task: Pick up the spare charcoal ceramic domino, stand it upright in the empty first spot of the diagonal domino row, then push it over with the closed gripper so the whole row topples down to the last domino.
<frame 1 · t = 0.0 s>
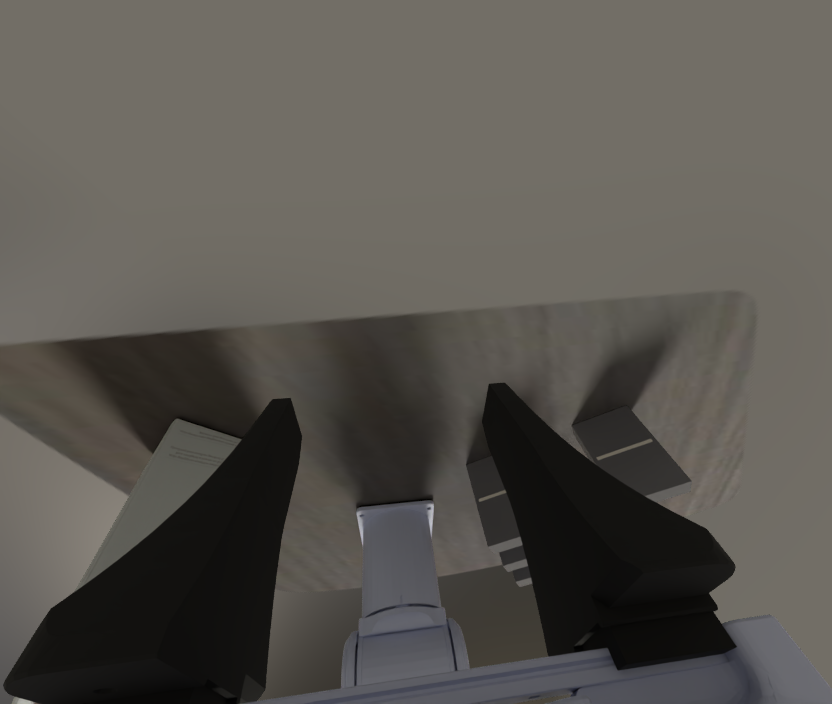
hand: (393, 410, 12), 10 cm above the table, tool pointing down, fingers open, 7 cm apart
domino 1: (599, 420, 31), on the table
domino 3: (504, 482, 35), on the table
skincare box: (221, 450, 28), on the table
domino 4: (492, 460, 32), on the table
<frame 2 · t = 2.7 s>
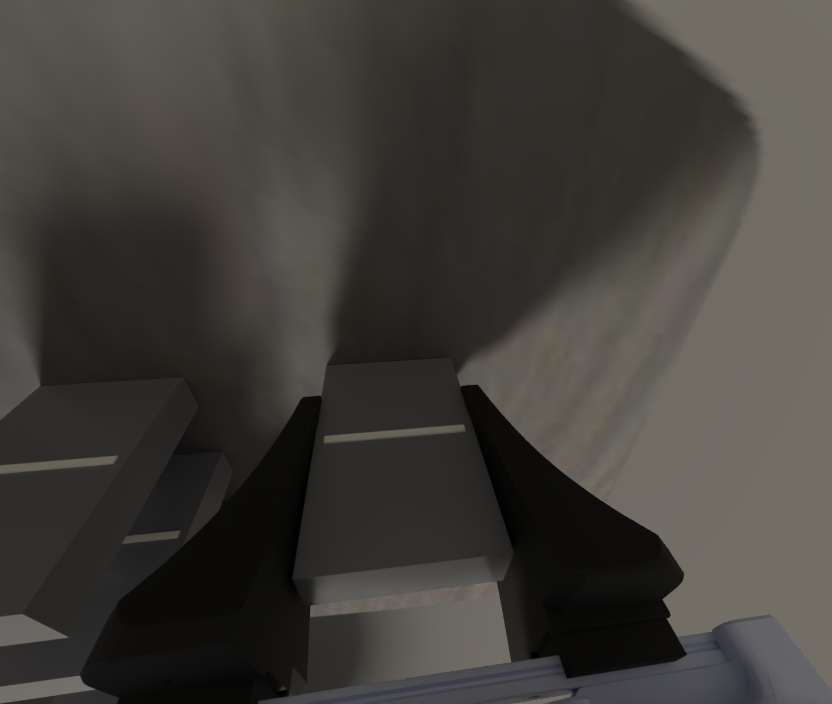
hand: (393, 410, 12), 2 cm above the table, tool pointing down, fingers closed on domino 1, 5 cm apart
domino 1: (390, 376, 14), on the table, touching gripper
domino 3: (172, 466, 16), on the table
domino 2: (207, 515, 18), on the table
domino 4: (124, 396, 13), on the table
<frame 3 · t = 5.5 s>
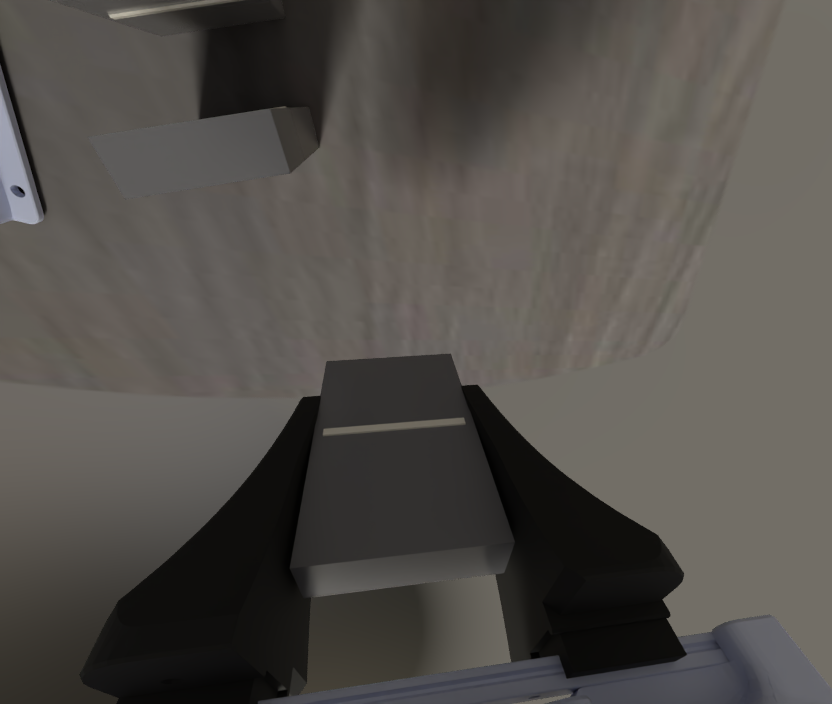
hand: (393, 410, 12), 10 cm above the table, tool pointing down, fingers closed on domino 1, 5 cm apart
domino 1: (390, 373, 14), point 8 cm above the table, touching gripper
domino 2: (261, 135, 16), on the table
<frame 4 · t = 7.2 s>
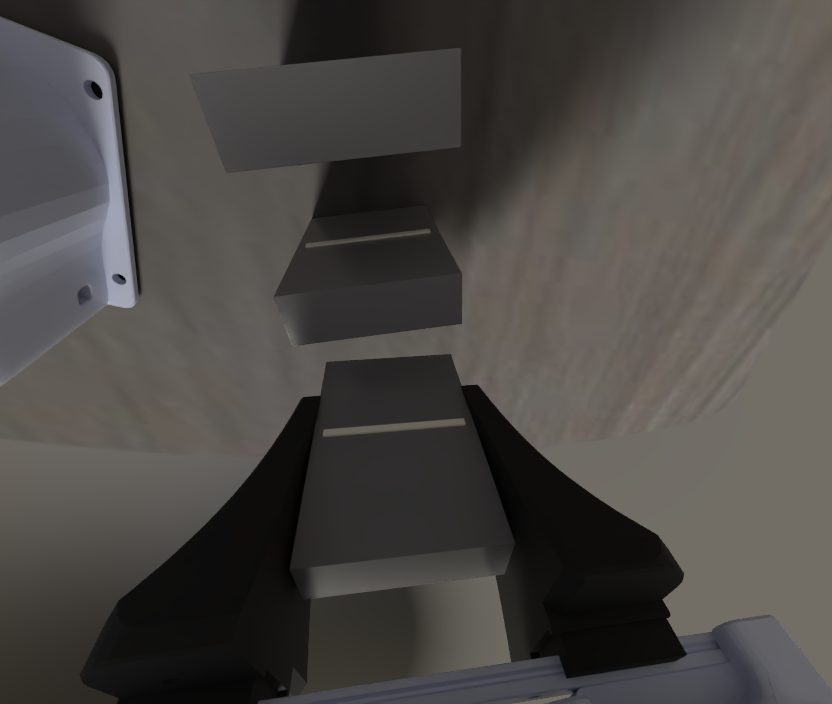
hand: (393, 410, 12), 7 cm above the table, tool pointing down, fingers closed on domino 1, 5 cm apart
domino 1: (390, 373, 14), point 5 cm above the table, touching gripper
domino 3: (351, 109, 13), on the table
domino 2: (371, 229, 15), on the table
when the fingers open (3 cm above the table, at t = 8.4 s): domino 1 stays where it is, on the table.
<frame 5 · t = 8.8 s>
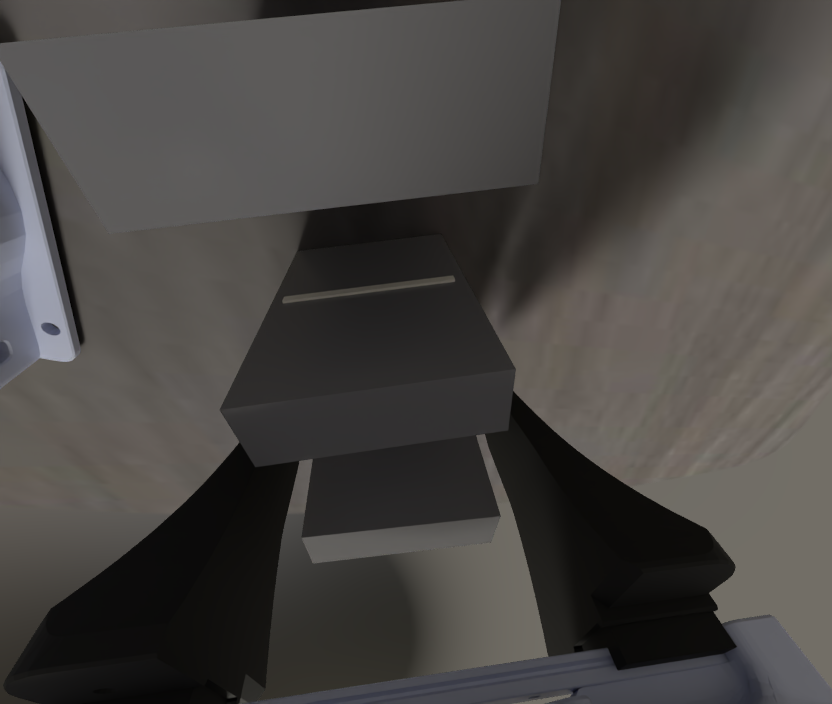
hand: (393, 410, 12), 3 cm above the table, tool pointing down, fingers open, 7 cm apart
domino 1: (389, 359, 15), on the table
domino 3: (347, 112, 9), on the table
domino 2: (373, 264, 12), on the table
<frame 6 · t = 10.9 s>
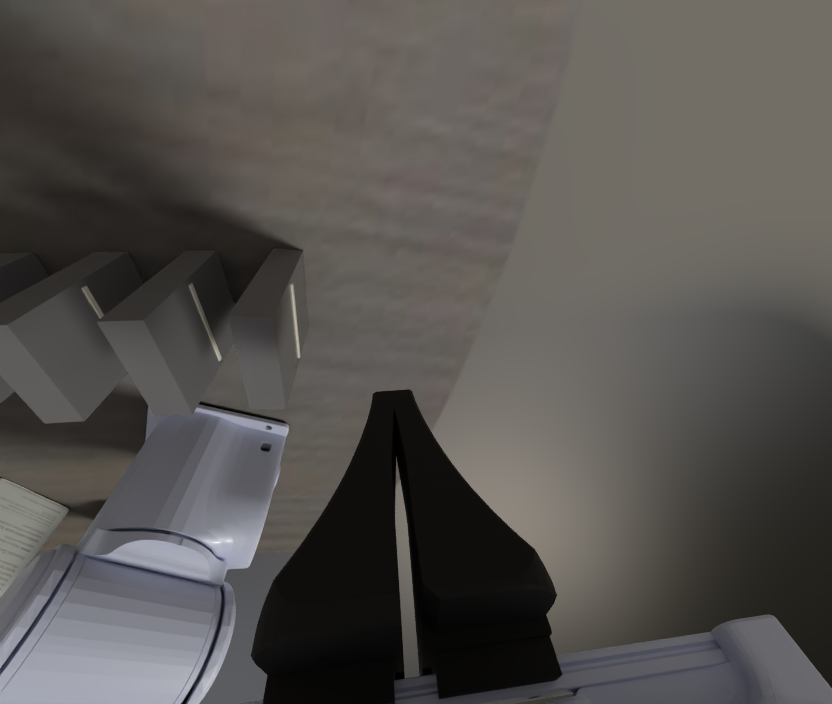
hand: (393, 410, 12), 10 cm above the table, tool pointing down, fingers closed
domino 1: (292, 289, 20), on the table
domino 3: (133, 294, 19), on the table
domino 2: (216, 292, 20), on the table
skincare box: (7, 503, 29), on the table
domino 4: (46, 296, 19), on the table
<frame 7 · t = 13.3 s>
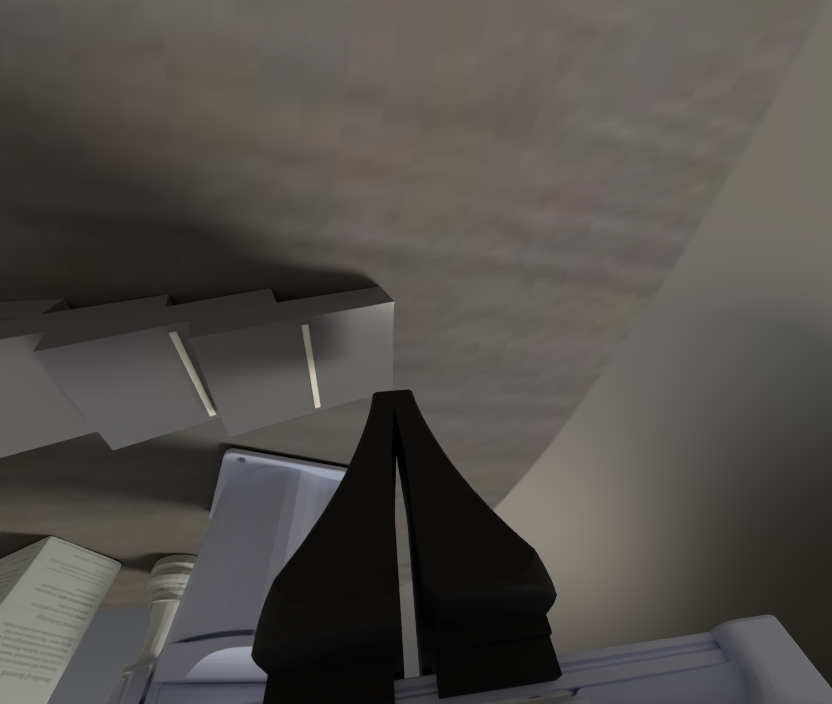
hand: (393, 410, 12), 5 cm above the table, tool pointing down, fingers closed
domino 1: (386, 340, 16), point 1 cm above the table, tilted 69°
domino 3: (189, 350, 15), point 1 cm above the table, tilted 69°, touching domino 4
domino 2: (285, 343, 16), point 1 cm above the table, tilted 68°
skincare box: (54, 559, 26), on the table
domino 4: (87, 356, 15), point 1 cm above the table, tilted 89°, touching domino 3
chess piece: (186, 562, 29), on the table
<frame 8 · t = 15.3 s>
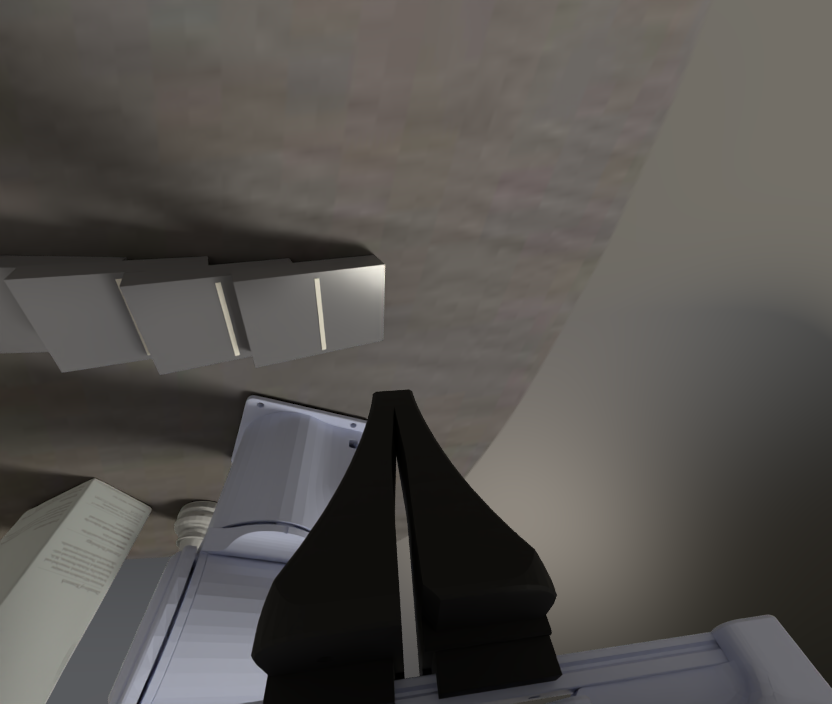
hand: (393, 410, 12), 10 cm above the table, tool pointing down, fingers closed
domino 1: (378, 299, 20), point 1 cm above the table, tilted 69°, touching domino 2
domino 3: (218, 303, 19), point 1 cm above the table, tilted 70°, touching domino 2
domino 2: (297, 303, 20), point 1 cm above the table, tilted 68°, touching domino 1, domino 3
skincare box: (94, 503, 30), on the table
domino 4: (139, 305, 19), point 1 cm above the table, tilted 89°
chess piece: (207, 510, 33), on the table
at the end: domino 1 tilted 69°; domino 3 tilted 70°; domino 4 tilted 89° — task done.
